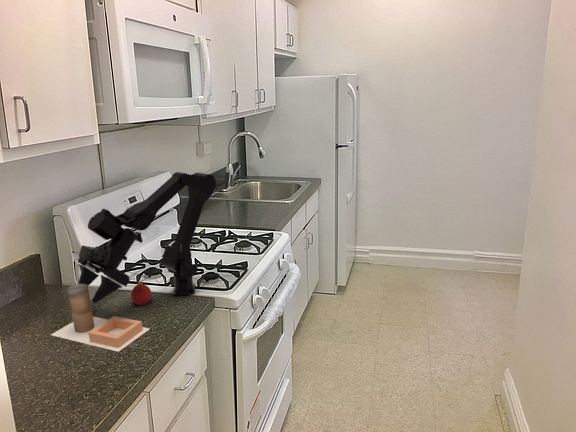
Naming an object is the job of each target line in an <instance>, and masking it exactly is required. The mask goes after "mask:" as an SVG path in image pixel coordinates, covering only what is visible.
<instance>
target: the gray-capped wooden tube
mask: <svg viewBox="0 0 576 432" xmlns="http://www.w3.org/2000/svg"><path fill="white" fill-rule="evenodd" d="M67 293H68V298H69V304H70V305H69V306H70V311H71V317H72V322H73V323H74V329H75V332H77V333H84V332H88V331H90V330H92V329H93V328H94V320H93V317H94V315H93V308H92V303H91V302H92V301H91V297H90V291H89V286H88V285H87V284H78V283H76V284H74V285H73V284H72V285H71V286H69V287H68V288H67Z"/></svg>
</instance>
